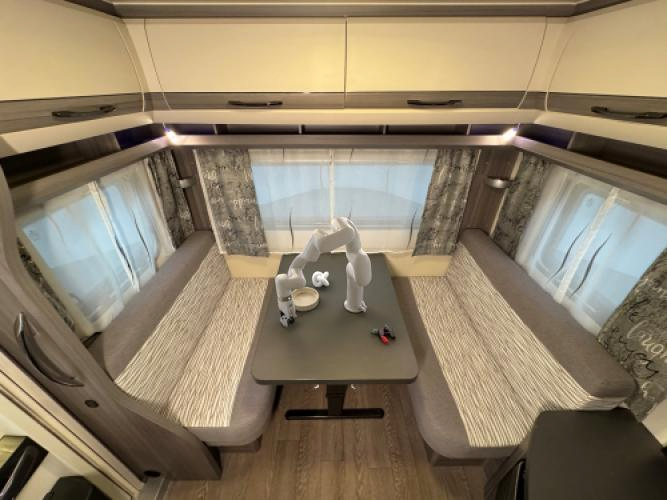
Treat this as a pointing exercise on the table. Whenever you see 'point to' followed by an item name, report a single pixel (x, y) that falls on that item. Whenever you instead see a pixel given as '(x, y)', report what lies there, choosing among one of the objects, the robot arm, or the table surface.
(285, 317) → the game controller
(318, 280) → the white knot sculpture
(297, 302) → the bowl
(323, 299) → the table surface
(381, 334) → the toy gun
